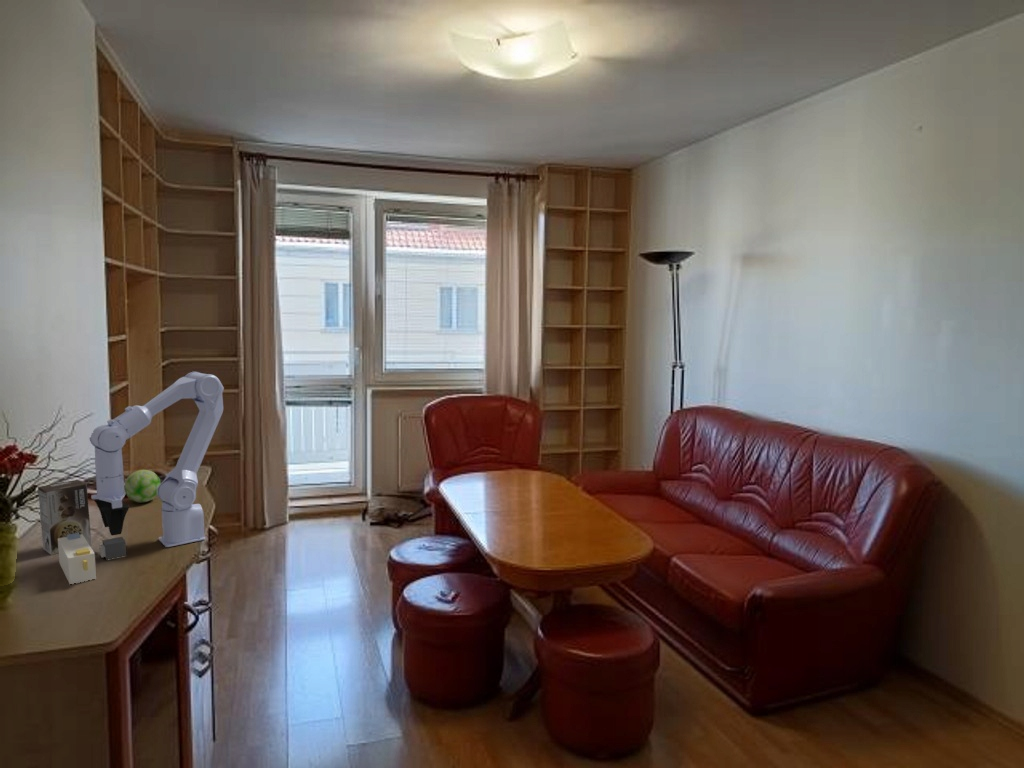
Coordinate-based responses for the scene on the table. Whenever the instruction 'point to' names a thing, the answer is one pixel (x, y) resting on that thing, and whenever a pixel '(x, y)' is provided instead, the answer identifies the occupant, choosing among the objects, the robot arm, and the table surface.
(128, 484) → the decorative ball
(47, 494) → the coffee box
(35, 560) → the table surface
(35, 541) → the table surface
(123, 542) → the plug
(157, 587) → the table surface
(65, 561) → the socket box
